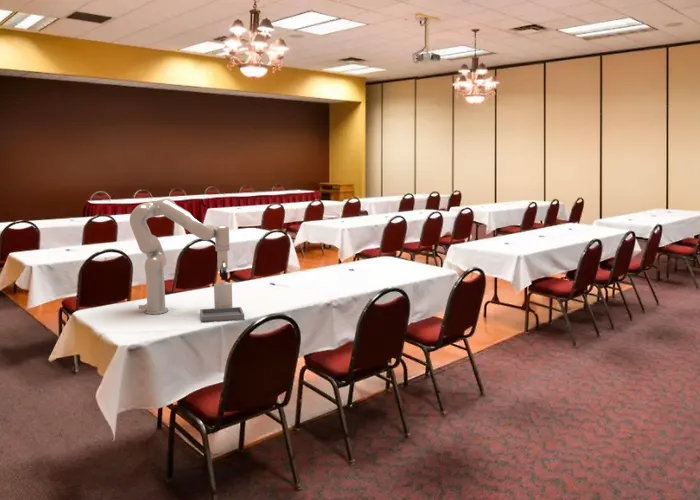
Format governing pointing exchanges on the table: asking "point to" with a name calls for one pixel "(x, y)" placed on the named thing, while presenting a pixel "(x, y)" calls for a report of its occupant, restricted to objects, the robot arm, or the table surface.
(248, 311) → the table surface
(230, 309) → the tray
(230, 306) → the skincare box
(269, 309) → the table surface
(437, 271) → the table surface
